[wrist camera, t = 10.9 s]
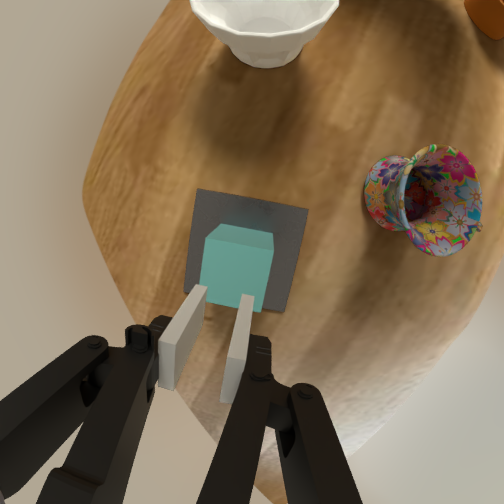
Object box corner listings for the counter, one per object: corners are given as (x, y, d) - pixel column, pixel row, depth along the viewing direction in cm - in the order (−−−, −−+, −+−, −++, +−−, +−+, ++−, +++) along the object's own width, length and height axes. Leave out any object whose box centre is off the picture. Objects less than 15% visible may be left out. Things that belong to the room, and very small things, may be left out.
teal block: (221, 223, 30) (205, 237, 23) (272, 233, 30) (274, 250, 22) (213, 272, 31) (197, 299, 24) (262, 282, 31) (260, 312, 24)
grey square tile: (198, 188, 30) (179, 191, 23) (307, 209, 29) (318, 216, 23) (184, 290, 33) (166, 314, 26) (283, 310, 33) (286, 339, 26)
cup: (190, 48, 25) (158, 0, 15) (259, -11, 23) (255, -66, 12) (272, 105, 27) (273, 66, 16) (341, 40, 24) (367, -10, 13)
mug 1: (346, 215, 29) (383, 234, 19) (372, 139, 27) (418, 123, 17) (427, 251, 30) (478, 279, 19) (450, 182, 27) (507, 188, 17)
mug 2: (512, 61, 20) (544, 50, 12) (463, 17, 20) (492, -3, 11) (510, 31, 18) (537, 18, 9) (463, -10, 17) (487, -30, 9)
